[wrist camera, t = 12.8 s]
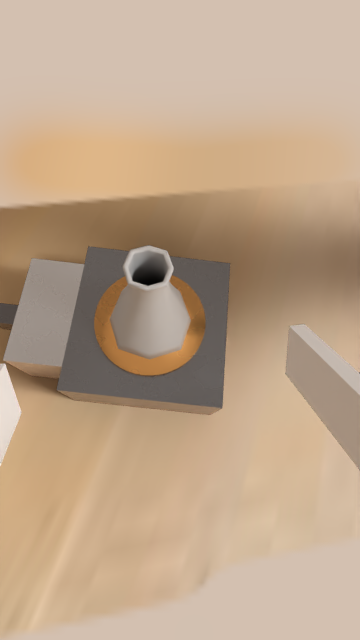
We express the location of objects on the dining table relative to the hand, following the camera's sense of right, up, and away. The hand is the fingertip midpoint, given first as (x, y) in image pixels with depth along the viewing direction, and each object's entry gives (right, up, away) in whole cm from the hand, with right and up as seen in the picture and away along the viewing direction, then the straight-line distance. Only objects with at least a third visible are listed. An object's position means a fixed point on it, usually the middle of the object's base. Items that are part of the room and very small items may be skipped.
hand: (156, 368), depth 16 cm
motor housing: (-6, 0, +22) cm, 22 cm away
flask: (-2, +2, +15) cm, 15 cm away
